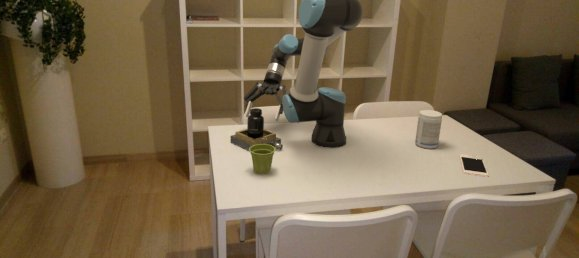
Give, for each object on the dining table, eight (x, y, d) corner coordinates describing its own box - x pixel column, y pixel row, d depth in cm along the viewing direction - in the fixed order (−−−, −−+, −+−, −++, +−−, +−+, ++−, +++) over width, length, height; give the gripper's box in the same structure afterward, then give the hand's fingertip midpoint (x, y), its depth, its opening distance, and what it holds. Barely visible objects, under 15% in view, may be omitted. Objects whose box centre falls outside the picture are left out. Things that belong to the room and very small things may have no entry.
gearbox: (287, 148, 180) (288, 137, 178) (262, 157, 170) (262, 145, 168) (255, 134, 193) (255, 124, 191) (230, 142, 183) (230, 131, 182)
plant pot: (265, 178, 153) (265, 156, 150) (243, 171, 157) (243, 149, 154) (279, 169, 160) (280, 147, 157) (259, 163, 165) (259, 141, 162)
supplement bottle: (251, 141, 177) (251, 113, 173) (244, 135, 183) (244, 108, 179) (266, 138, 181) (266, 111, 176) (259, 133, 186) (260, 106, 182)
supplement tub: (442, 146, 188) (447, 114, 183) (427, 151, 183) (432, 117, 178) (424, 139, 195) (429, 108, 190) (409, 143, 190) (414, 111, 185)
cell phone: (481, 159, 178) (482, 157, 177) (488, 177, 161) (489, 175, 161) (459, 156, 180) (459, 154, 179) (463, 174, 163) (463, 171, 163)
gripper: (302, 83, 193) (290, 125, 185) (250, 77, 200) (237, 117, 192) (299, 74, 187) (287, 117, 179) (245, 68, 194) (231, 110, 186)
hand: (261, 118), depth 185 cm, fingers open, 13 cm apart
